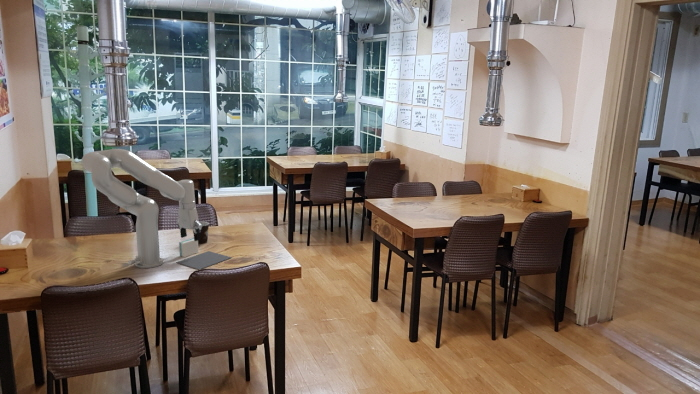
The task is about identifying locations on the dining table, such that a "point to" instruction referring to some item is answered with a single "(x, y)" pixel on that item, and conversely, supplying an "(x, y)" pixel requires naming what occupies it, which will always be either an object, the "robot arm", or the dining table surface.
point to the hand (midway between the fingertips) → (190, 238)
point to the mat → (203, 260)
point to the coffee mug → (203, 233)
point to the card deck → (188, 247)
